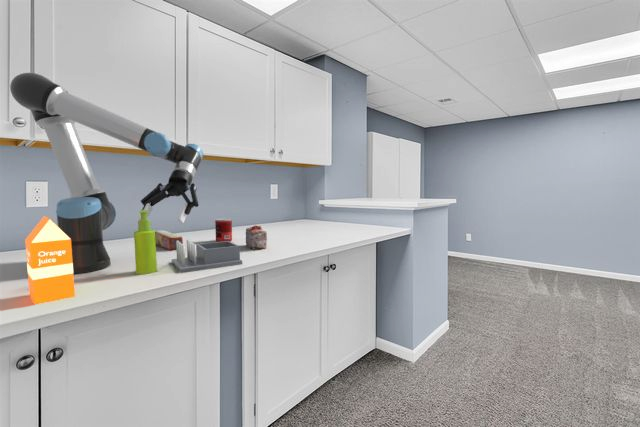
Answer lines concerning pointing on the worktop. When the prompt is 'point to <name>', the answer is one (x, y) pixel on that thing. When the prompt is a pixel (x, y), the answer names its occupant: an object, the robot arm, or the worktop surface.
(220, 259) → the dish rack
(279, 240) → the worktop surface
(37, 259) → the orange juice
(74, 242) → the robot arm
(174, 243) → the snack package
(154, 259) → the soap dispenser
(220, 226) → the canned food
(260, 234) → the food item
